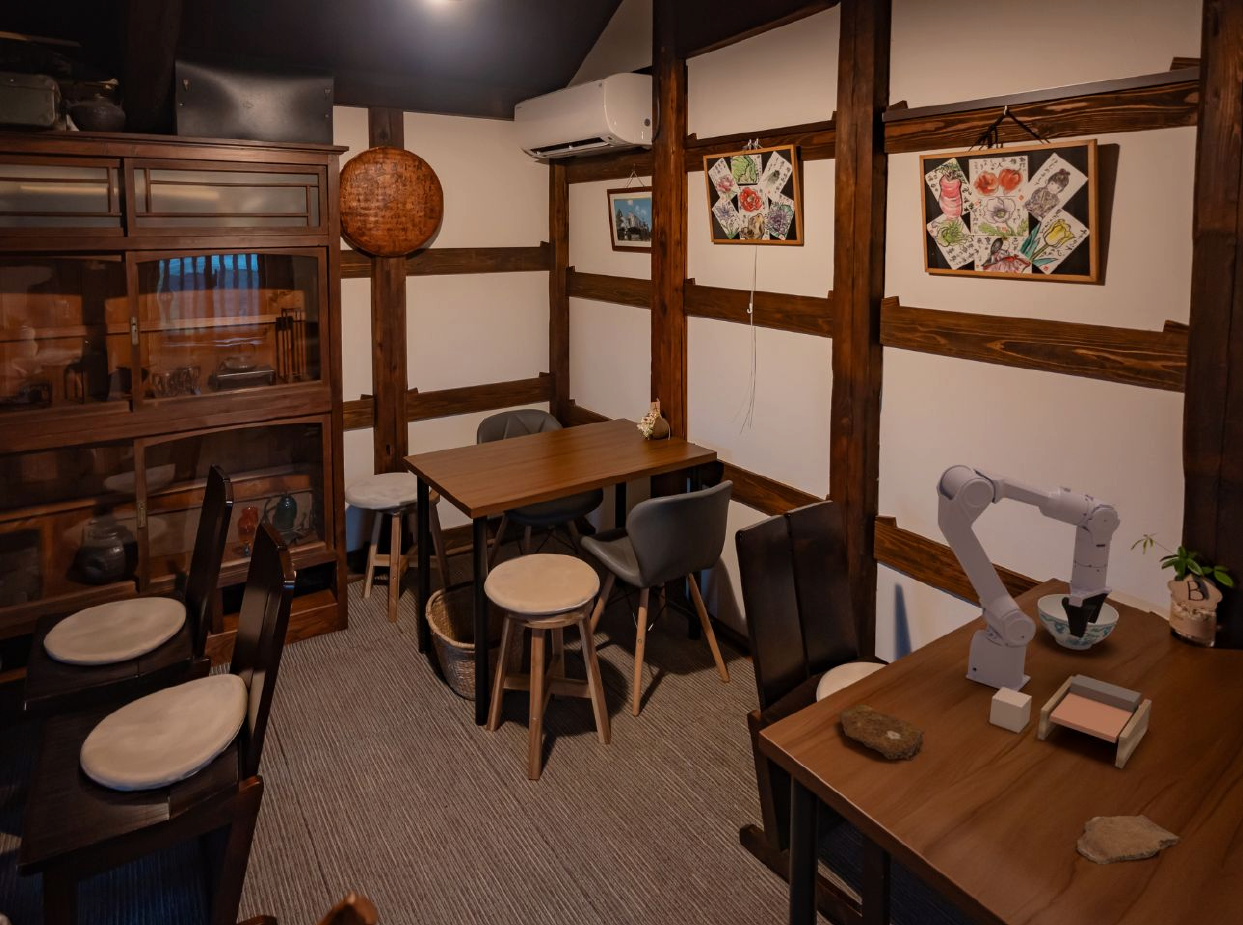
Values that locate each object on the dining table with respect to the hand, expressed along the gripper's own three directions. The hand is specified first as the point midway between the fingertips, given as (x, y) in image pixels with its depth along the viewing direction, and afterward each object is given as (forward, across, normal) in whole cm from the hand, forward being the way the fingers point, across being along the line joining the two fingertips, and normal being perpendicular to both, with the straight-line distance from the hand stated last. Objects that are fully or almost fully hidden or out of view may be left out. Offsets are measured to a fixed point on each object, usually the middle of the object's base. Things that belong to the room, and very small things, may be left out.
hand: (1083, 628), depth 166 cm
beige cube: (+10, -24, +4) cm, 27 cm away
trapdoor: (+6, -19, -8) cm, 22 cm away
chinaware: (+11, +15, +6) cm, 20 cm away
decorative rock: (+10, -45, +19) cm, 50 cm away
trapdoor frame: (+10, -19, -8) cm, 23 cm away
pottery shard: (+11, -46, -19) cm, 51 cm away
